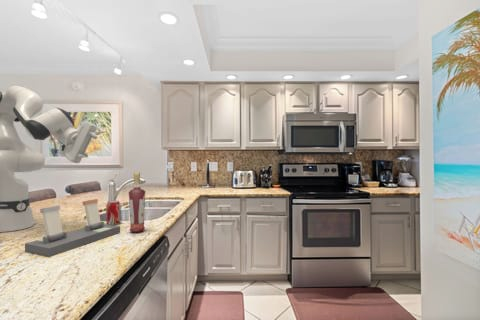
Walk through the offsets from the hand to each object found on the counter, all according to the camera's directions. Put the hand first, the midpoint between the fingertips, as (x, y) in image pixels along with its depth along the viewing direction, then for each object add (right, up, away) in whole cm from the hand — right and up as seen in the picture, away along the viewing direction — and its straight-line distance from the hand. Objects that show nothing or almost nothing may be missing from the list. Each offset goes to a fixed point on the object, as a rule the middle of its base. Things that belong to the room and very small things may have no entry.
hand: (91, 146), depth 118 cm
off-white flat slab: (+4, -37, -4) cm, 37 cm away
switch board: (+1, -40, -11) cm, 42 cm away
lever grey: (-2, -37, -20) cm, 42 cm away
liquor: (+20, -40, +3) cm, 45 cm away
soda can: (+2, -40, +16) cm, 44 cm away
